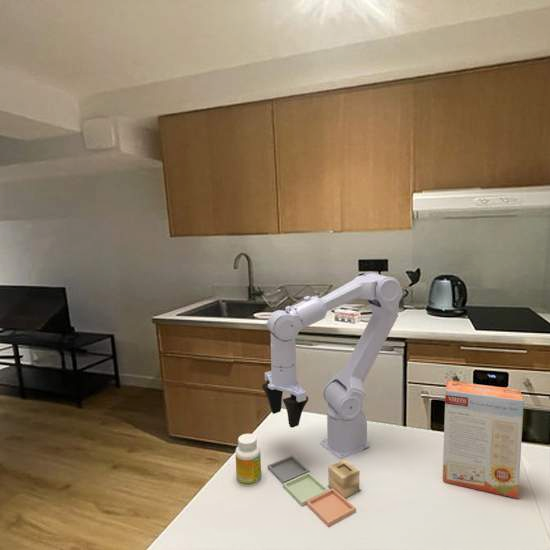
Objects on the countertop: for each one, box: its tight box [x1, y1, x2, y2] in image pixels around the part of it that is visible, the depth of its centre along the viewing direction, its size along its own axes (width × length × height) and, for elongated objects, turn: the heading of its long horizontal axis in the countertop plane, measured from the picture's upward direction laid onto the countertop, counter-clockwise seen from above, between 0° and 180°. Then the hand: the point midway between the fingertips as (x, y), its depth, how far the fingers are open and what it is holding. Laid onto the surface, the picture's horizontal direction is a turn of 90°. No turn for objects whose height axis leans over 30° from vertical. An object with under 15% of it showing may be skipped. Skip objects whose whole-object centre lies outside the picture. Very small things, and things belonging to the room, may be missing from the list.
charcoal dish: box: [266, 455, 311, 485], centre depth 89 cm, size 7×7×1 cm
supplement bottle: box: [235, 433, 262, 487], centre depth 87 cm, size 5×5×10 cm
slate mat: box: [326, 484, 362, 500], centre depth 83 cm, size 5×5×1 cm
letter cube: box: [327, 459, 361, 499], centre depth 83 cm, size 4×4×4 cm
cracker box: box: [442, 379, 525, 499], centre depth 83 cm, size 14×6×21 cm, turn 65°
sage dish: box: [282, 472, 330, 507], centre depth 83 cm, size 7×7×1 cm
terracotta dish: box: [305, 488, 357, 528], centre depth 78 cm, size 7×7×1 cm
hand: (284, 418), depth 93 cm, fingers open, 7 cm apart
